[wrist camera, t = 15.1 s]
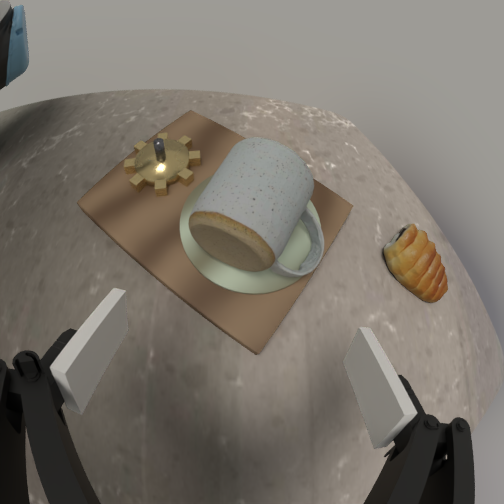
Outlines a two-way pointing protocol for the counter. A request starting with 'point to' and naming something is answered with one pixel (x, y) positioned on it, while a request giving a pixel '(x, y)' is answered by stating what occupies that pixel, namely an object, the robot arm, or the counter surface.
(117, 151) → the counter surface
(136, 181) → the gear
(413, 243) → the pastry
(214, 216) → the ceramic mug
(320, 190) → the gear board
